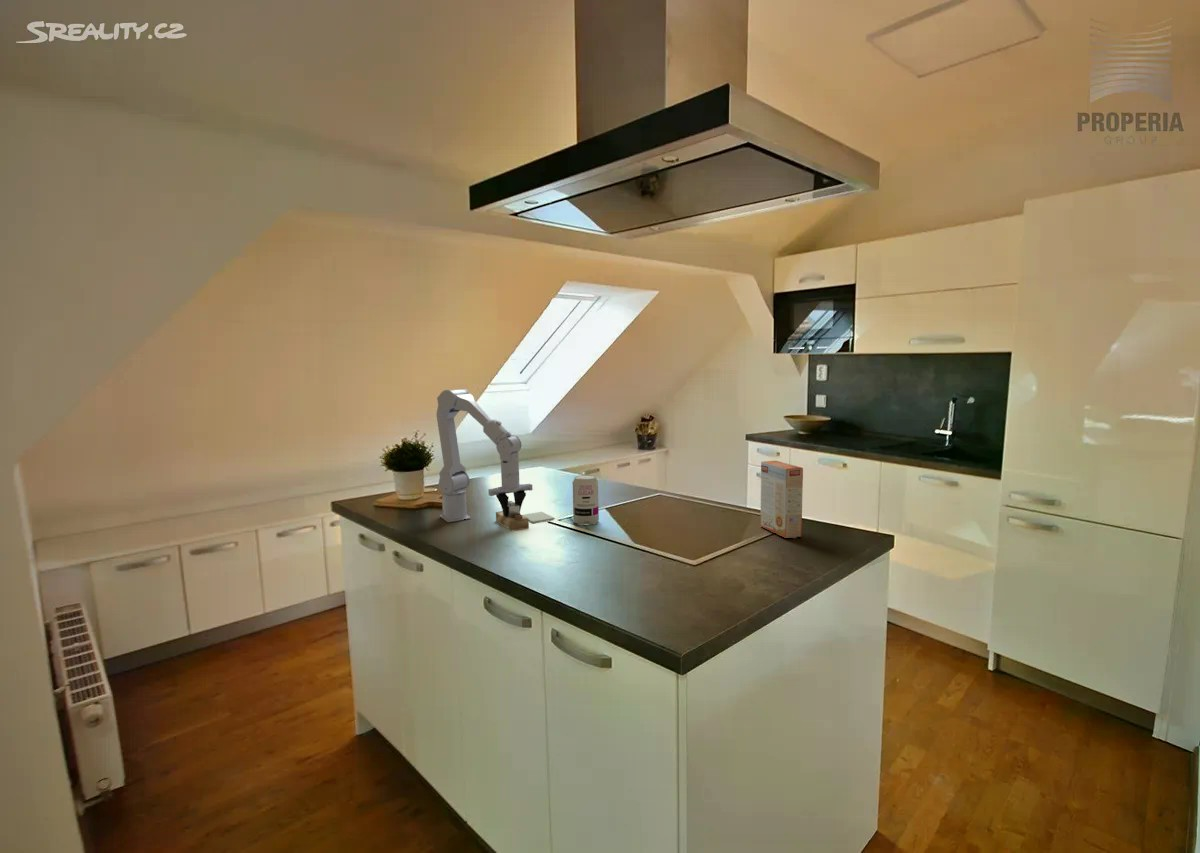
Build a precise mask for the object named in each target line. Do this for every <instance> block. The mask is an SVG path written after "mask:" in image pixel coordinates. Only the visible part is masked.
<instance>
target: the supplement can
mask: <svg viewBox="0 0 1200 853" xmlns="http://www.w3.org/2000/svg"><path fill="white" fill-rule="evenodd" d="M572 505H573V506H572V507H573V508H572V509H573V510H572V511H573V512H572V513H573V515H572V516H573V519H572V521H573V522H574V523H575V522H576V523H578V524H577V525H579V524H592V525H594V524H593V523H595V524H597V523H598V521H599V520H600V517H599V516H600V515H599V514H600V513H599V512H600V511H599V480H598V479H597V477H596V475H590V474H586V475H585V474H584V475H576V476H574V479H573V481H572ZM596 522H597V523H596ZM576 523H575V524H576Z"/></svg>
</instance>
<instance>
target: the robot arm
mask: <svg viewBox="0 0 1200 853" xmlns="http://www.w3.org/2000/svg"><path fill="white" fill-rule="evenodd" d="M474 397H475V396H474V395H472V394H471V393H470V391H469V390H468V389H466V388H459V389H445V390H442V391H441V392H440V394H439V395H438V396H437V398H436V400H437V410H436V420H437V427H438V434H439V442H440V449H441V454H442V461H443V467H442V468H441V469H440V471H439V473H438V475H439V481H438V488H439V490H440V492H442V497H441V498H442V499H441V502H442V505H441V506H442V514H440V515H439V516H440V517H441V519H443V520H444V521H446V522H447V523H453V522H458V521H465V520H464V519H466V520H471V518H472V517H471V516H469V515H468V514H467V494H466V492H467V488H468V487H469V485H470V481H471V480H470V477H469V475H468V473H467V469H466V467H465V465H463V464H462V462H461V457H460V451H459V445H458V444H459V442H458V437H457V430H456V429H457V428H456V423H455V417H456V416H457V415H458V414H459V412H461V411H462V412H466V413H468V414H469V415H470V417H472V418H473V419H475V420H476V422H477V423H479V425H481V426H482V430H483V431H482V432H483V434H485V436H487V438H489V439H490V440H491V441H492V443H493V444H494V445H495V446H496V447H495V448H496V451H497V453H498V454H499V459H500V474H501V475H500V476H501V477H500V478H501V479H500V480H501V486H499V487H494V488H489V489H488V492H487V493H488V496H490V497H494V496H495V497H496V498H497V500H498V502H499V503H500V507H501V510H502V511H503V514H504V516H508V501H509V496H508V495H507V494H511V493H512V494H513V500H514V503H515V504H517V505H519V507H520V510H521V509H522V505H523V503H524V500H525V498H526V496H527V492H525V491H533V490H534V488H533V484H531V483H525V484H523V483H522V484H521V483H520V462H519V461H520V458H519V452H520V450H521V448H522V441H521V439H520V438H519V436H518V435H514V434H512V433H511V432H510V431H508V430H507V429H506V428H505V427H504V426H503V425H502V422H501V421H500V420H498V419H491V418H490V417H489V415H488V414H487V413H486V412H485V411H484V410H483V408H482V407H481V406H480V405H479V403H478V402H476V400H475V398H474Z"/></svg>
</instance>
